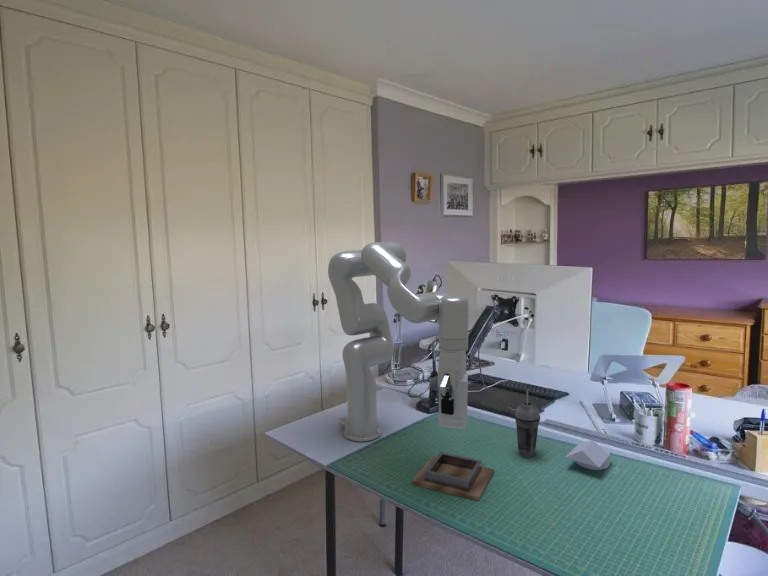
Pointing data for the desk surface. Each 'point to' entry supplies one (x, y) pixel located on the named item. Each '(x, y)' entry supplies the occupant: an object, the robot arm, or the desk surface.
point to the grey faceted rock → (590, 455)
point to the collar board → (454, 476)
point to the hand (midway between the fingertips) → (453, 407)
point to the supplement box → (456, 406)
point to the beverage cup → (527, 428)
